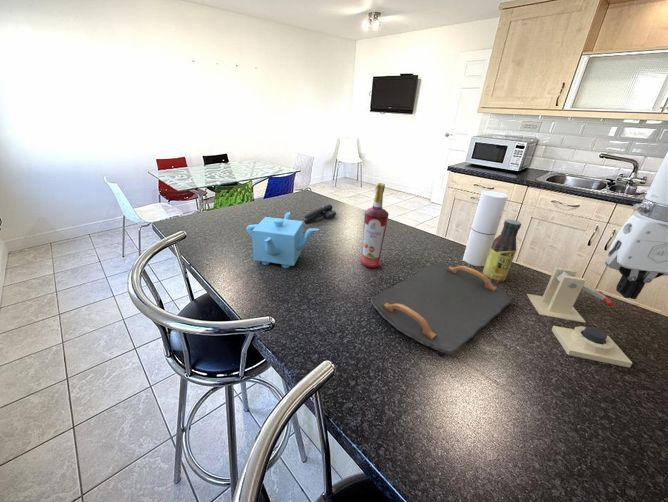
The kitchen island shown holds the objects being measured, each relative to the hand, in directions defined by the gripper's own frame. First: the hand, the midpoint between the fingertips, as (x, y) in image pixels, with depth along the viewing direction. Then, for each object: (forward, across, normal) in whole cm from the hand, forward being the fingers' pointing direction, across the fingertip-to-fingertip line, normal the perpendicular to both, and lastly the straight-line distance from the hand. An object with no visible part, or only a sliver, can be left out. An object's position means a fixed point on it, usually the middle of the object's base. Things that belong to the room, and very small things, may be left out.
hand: (625, 294), depth 61 cm
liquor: (+14, -53, +21) cm, 59 cm away
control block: (+15, -2, -1) cm, 15 cm away
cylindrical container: (+15, -18, +34) cm, 42 cm away
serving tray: (+15, -32, +5) cm, 36 cm away
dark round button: (+12, -2, -1) cm, 12 cm away
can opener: (+14, -79, +55) cm, 97 cm away
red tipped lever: (+8, +1, +13) cm, 16 cm away
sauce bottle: (+15, -15, +25) cm, 33 cm away
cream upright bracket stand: (+15, -3, +13) cm, 20 cm away
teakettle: (+14, -82, +15) cm, 85 cm away
